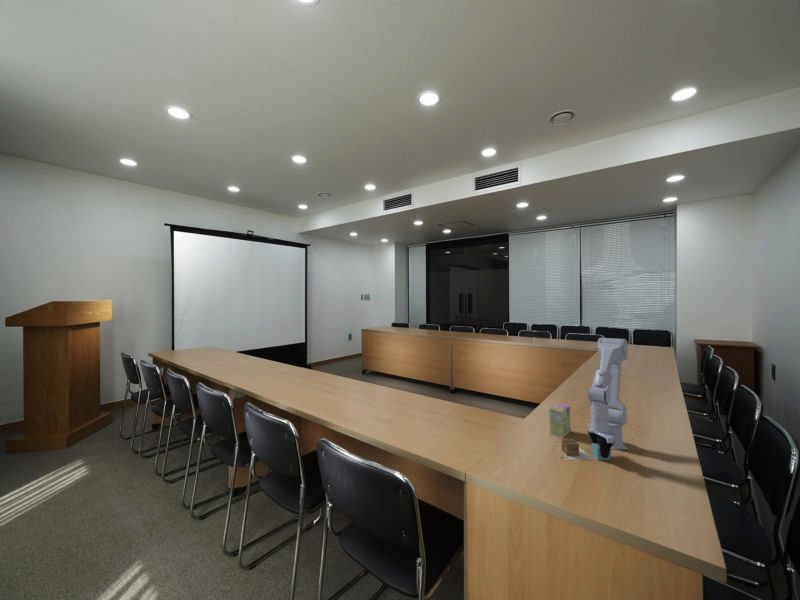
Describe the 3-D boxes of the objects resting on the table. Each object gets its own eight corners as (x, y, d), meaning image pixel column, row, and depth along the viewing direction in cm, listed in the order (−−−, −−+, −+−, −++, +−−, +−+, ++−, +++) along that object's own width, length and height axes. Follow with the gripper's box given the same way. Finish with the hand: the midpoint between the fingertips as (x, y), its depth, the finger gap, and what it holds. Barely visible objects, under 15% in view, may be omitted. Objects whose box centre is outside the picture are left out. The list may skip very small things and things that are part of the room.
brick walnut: (561, 450, 129) (561, 438, 129) (573, 450, 129) (573, 438, 129) (566, 455, 125) (566, 443, 125) (579, 456, 124) (578, 444, 124)
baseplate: (549, 447, 132) (549, 446, 132) (580, 448, 131) (580, 447, 131) (559, 459, 122) (559, 458, 122) (592, 460, 121) (592, 459, 121)
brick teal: (591, 454, 125) (591, 443, 125) (604, 455, 125) (603, 443, 125) (597, 460, 121) (597, 448, 121) (610, 460, 120) (610, 448, 120)
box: (558, 428, 152) (557, 403, 152) (571, 431, 148) (570, 405, 148) (549, 435, 145) (548, 408, 145) (562, 438, 141) (562, 411, 141)
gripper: (580, 411, 130) (581, 445, 130) (598, 425, 116) (599, 463, 116) (598, 411, 130) (599, 445, 130) (619, 425, 115) (620, 463, 115)
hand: (600, 454), depth 123 cm, fingers closed on brick teal, 5 cm apart
